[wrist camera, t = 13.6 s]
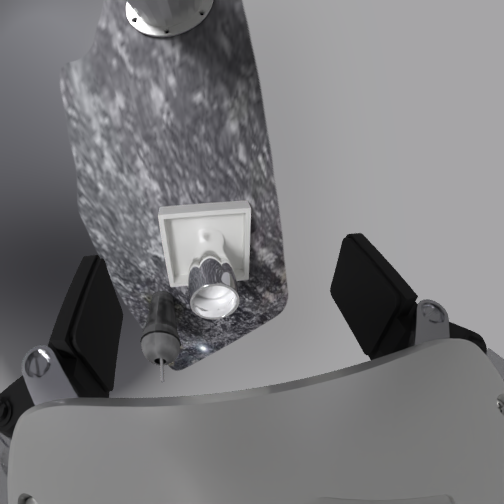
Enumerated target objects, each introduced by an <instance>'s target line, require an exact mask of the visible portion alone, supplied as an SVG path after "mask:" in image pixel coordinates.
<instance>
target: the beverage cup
mask: <svg viewBox="0 0 504 504" xmlns="http://www.w3.org/2000/svg"><path fill="white" fill-rule="evenodd" d="M141 345H142V350H143V353H144V355H145V357H146V358H147V359H148V360H149V361H150V362H152V363H154V364H156V365H160V366H161V367H160V368H161V382H164V370H163V365H168V364H170V363H172V362H173V361H174V360H175V359H176V358H177V356H178V353H179V350H180V346H181V342H180V340H179V335H178V332H177V326H176V318H175V308H174V302H173V297H172V295H171V294H170V293H168V292H165V291H159V292H156V293H155V294H154V295H153V296H152V300H151V303H150V308H149V313H148V317H147V322H146V327H145V330H144V333H143V336H142V338H141Z"/></svg>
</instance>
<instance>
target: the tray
mask: <svg viewBox="0 0 504 504" xmlns="http://www.w3.org/2000/svg"><path fill="white" fill-rule="evenodd" d="M158 218H159V225H160V232H161V238H162V244H163V250H164V256H165V261H166V267H167V272H168V277H169V282H170V287H177V286H188V273H189V267H190V263H191V260H192V255H193V254H192V250H191V248H190V239H191V237H192V235H193V234H194V233H195V232H196V231H198V230H199V229H202V228H213V229H216V230H218V231H219V232H220V233H221V234H222V235H223V237H224V252H225V254H226V256H227V257H228V259H229V261H230V263H231V265H232V267H233V270H234V273H235V276H236V281H241V280H249V256H250V225H251V207H250V205H249V203H248V201H231V202H215V203H202V204H189V205H178V206H167V207H160V209H159V213H158Z"/></svg>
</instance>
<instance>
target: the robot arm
mask: <svg viewBox="0 0 504 504" xmlns="http://www.w3.org/2000/svg"><path fill="white" fill-rule="evenodd" d="M126 1H127V3H126V16H127V19H128V21H129V22H130V24H131V25H132V26H133V27H134V28H135V29H136V30H137V31H139V32H141V33H143V34H145V35H148V36H152V37H171V36H175V35H179V34H182V33H185V32H187V31H189V30H191V29H193V28H194V27H196V26H197V25H198V24H200V23H201V22H202V21H203V20H204V19H205V18H206V16H207V15H208V13H209V12H210V10H211V7H212V4H213V0H126ZM201 13H203V15H200V14H201ZM135 20H137V21H136V22H134V21H135ZM166 31H169V33H166ZM330 289H331V290H330V292H331V295H332V298H333V299H334V301H335V303H336V304H337V306H338V308H339V309H340V311H341V313H342V314H343V316H344V318H345V320H346V322H347V323H348V325H349V327H350V329H351V330H352V332H353V334H354V336H355V337H356V339H357V341H358V343H359V345H360V346H361V348H362V350H363V352H364V353H365V354H366V355H368V356H369V357H370V359H371V361H368V362H364V363H361V364H358V365H354V366H351V367H348V368H344V369H340V370H337V371H333V372H329V373H325V374H321V375H318V376H313V377H309V378H305V379H300V380H296V381H291V382H286V383H281V384H276V385H270V386H264V387H259V388H252V389H246V390H240V391H232V392H224V393H215V394H205V395H194V396H180V397H160V398H109V391H112V390H113V387H114V377H115V368H116V360H117V352H118V345H119V338H120V332H121V326H122V320H123V313H122V309H121V306H120V303H119V301H118V298H117V296H116V293H115V290H114V287H113V284H112V282H111V279H110V276H109V273H108V270H107V267H106V264H105V261H104V259H103V258H101V259H100V257H99V256H98V255H93V256H84V257H83V259H82V261H81V263H80V265H79V267H78V270H77V272H76V274H75V276H74V278H73V281H72V283H71V285H70V287H69V290H68V292H67V295H66V297H65V300H64V302H63V305H62V307H61V310H60V312H59V315H58V317H57V321H56V323H55V326H54V329H53V332H52V335H51V338H50V341H49V344H48V347H47V346H43V345H41V346H36V347H35V348H32V349H31V350H30V351H29V352H28V353H27V354H26V355H25V357H24V359H23V361H22V368H21V369H22V374H23V375H22V376H21V377H20V378H19V379H17V380H16V381H15V382H14V383H12V384H11V385H10V386H9V387H8V388H7V389H5V390H4V391H3V392H2V393H0V504H504V359H503V358H501V357H500V356H499V355H497V354H496V353H495V352H493V351H492V350H491V349H489V348H488V349H487V348H486V344H485V342H484V340H483V338H482V337H481V336H480V335H479V334H477V333H475V332H473V331H471V330H468V329H466V328H463V327H460V326H458V325H456V324H453V323H451V322H449V319H448V314H447V312H446V310H445V309H444V308H443V307H442V306H441V305H440V304H439V303H437V302H435V301H432V300H422V301H420V302H419V303H418V304H417V303H416V302H415V301H416V299H417V297H418V296H417V295H416V293H415V292H414V291H413V290H412V289H411V287H410V286H409V285H408V284H407V283H406V282H405V280H404V279H403V278H402V277H401V276H400V275H399V273H398V272H397V271H396V270H395V269H394V268H393V267H392V266H391V264H390V263H389V262H388V261H387V260H386V259H385V258H384V257H383V256H382V254H381V253H380V252H379V251H378V250H377V249H376V248H375V247H374V246H373V245H372V244H371V243H370V242H369V241H368V239H367V238H366V237H365V236H364V235H363V234H361V233H358V234H357V233H356V234H348V235H347V236H346V238H344V239H343V241H342V245H341V249H340V253H339V258H338V261H337V266H336V269H335V273H334V277H333V281H332V284H331V288H330Z"/></svg>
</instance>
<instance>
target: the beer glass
mask: <svg viewBox="0 0 504 504" xmlns="http://www.w3.org/2000/svg"><path fill="white" fill-rule="evenodd" d="M190 248H191V250H192V254H193V255H192V260H191V263H190V267H189V273H188V292H189V298H190V306H191V309H192V310H193V312H194V313H195V314H197V315H198V316H200V317H202V318H206V319H220V318H224V317H226V316H228V315H230V314H232V313H233V312H234V311H235V310H236V308H237V307H238V305H239V295H238V287H237V281H236V276H235V273H234V270H233V267H232V265H231V263H230V261H229V259H228V257H227V256H226V254H225V252H224V237H223V235H222V234H221V233H220V232H219V231H218V230H216V229H213V228H202V229H199V230H198V231H196V232H195V233H194V234H193V235H192V237H191V239H190Z"/></svg>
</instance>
